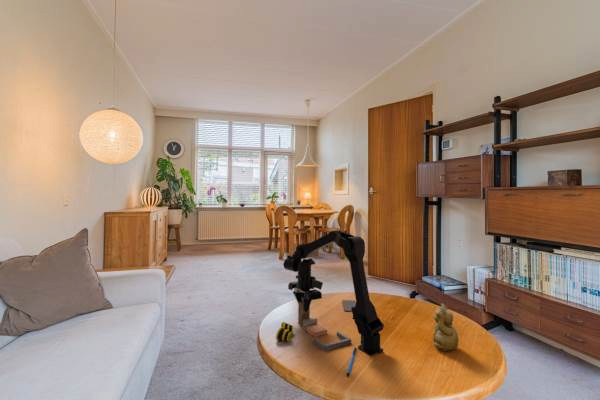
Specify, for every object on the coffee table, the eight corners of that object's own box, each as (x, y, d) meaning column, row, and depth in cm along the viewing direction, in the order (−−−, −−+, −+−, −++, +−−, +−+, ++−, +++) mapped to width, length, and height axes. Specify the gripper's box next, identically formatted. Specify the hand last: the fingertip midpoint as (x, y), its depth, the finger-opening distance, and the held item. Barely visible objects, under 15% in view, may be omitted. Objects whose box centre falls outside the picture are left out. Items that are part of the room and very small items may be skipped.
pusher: (317, 326, 126) (317, 305, 126) (304, 329, 123) (305, 307, 123) (307, 320, 132) (307, 299, 132) (295, 323, 129) (295, 302, 130)
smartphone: (344, 310, 144) (342, 299, 159) (344, 312, 144) (342, 301, 159) (358, 311, 143) (355, 300, 158) (358, 313, 143) (355, 302, 158)
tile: (327, 334, 120) (327, 329, 120) (314, 337, 117) (314, 332, 117) (318, 328, 125) (319, 324, 125) (306, 331, 122) (306, 326, 122)
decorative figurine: (434, 339, 115) (434, 300, 116) (458, 344, 112) (458, 304, 112) (432, 350, 107) (432, 308, 107) (458, 356, 103) (459, 312, 103)
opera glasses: (288, 345, 111) (291, 332, 111) (274, 342, 112) (277, 328, 112) (292, 334, 121) (295, 322, 121) (280, 330, 122) (282, 318, 121)
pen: (357, 349, 108) (357, 346, 108) (348, 378, 90) (348, 375, 90) (354, 348, 108) (354, 345, 108) (345, 378, 90) (345, 374, 90)
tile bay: (351, 343, 112) (351, 339, 112) (324, 351, 106) (324, 346, 106) (338, 335, 118) (338, 331, 118) (312, 342, 112) (312, 338, 112)
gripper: (332, 276, 125) (332, 314, 125) (308, 267, 142) (308, 300, 142) (309, 279, 120) (309, 319, 120) (287, 270, 136) (287, 304, 136)
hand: (304, 310), depth 129 cm, fingers closed on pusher, 3 cm apart
